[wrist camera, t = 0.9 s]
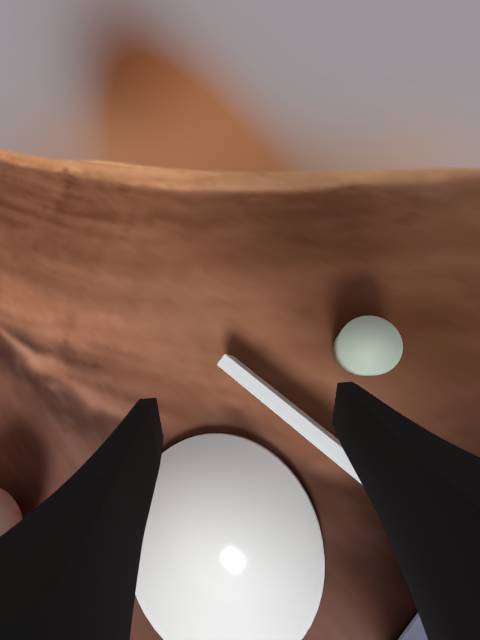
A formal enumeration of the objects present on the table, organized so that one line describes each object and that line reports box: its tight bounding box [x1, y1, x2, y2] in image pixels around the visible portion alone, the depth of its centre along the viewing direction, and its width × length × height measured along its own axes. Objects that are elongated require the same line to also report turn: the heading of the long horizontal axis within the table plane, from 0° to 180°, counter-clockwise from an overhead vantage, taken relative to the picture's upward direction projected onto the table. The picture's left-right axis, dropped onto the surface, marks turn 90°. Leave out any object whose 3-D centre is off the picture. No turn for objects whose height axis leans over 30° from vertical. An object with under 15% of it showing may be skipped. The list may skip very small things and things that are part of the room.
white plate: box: [135, 433, 325, 640], centre depth 25 cm, size 18×18×1 cm
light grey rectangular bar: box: [217, 354, 362, 484], centre depth 24 cm, size 18×1×3 cm, turn 52°
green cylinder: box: [333, 316, 403, 375], centre depth 23 cm, size 4×4×5 cm
